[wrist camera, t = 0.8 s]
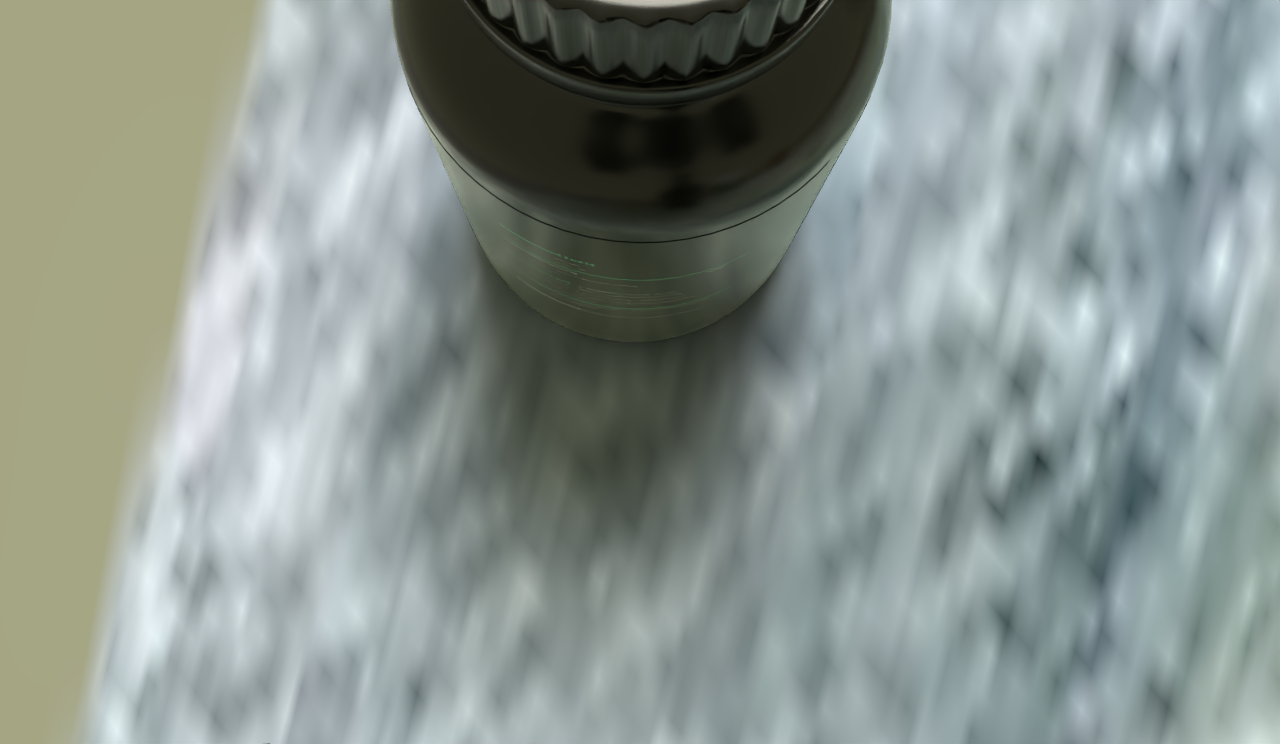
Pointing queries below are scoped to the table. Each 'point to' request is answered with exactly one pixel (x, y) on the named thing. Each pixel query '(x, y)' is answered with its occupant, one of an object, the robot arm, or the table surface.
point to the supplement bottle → (639, 142)
